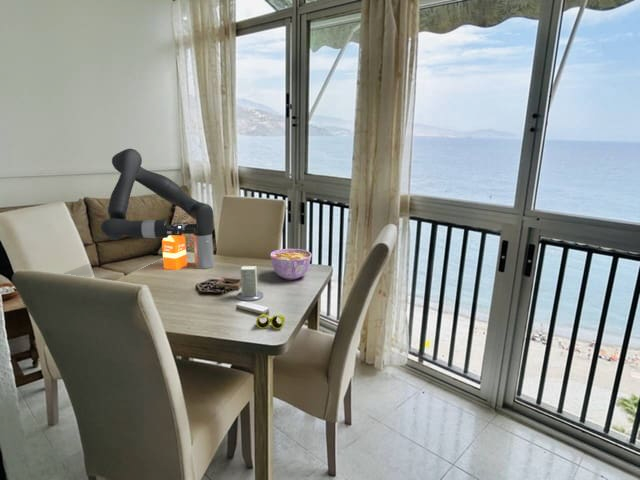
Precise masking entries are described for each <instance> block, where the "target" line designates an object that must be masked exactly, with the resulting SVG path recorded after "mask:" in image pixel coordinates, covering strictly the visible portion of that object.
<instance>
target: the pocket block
mask: <svg viewBox="0 0 640 480" xmlns="http://www.w3.org/2000/svg"><path fill="white" fill-rule="evenodd" d="M223 281H228V282H231V283H221V282H223ZM215 285H218V286H225V287H229V288H231V289H232V290H231V291H233V290H234V291H239V290H241V289H242V286H241V278H236V277H235V278H234V277H221V278H219V280H218V281H216V282H215V283H214V286H215Z"/></svg>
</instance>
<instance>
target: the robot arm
mask: <svg viewBox="0 0 640 480" xmlns="http://www.w3.org/2000/svg"><path fill="white" fill-rule="evenodd" d="M142 160H143V159H142V155H141V153H140V152H139V151H138V150H136V149H134V148H126V149H124V150H121V151H120V152H117V153H115V154H114V155H113V156H112V158H111V163H112V166H113V167H114V169H115V170H116V171H118V173H120V174H119V178H118V180H117V182H116V184H115V186H114V188H113V190H112V192H111V194H110V198H109V202H108V207H107V213H108V216H109V218H107V219H105V220H104V221H102V222H101V225H100V230H101V232H102V233H103V234H104V235H105V236H106V237H108V238H109V239H110V240H112V241H119V240H121V239H122V238H123V237H124V236H128V237H130V238H134V239H135V238H137V239H139V238H141V239H143V238H145V239H163V238H167V237H168V236H169V235H180V236H181V235H182V234H183V236H185V234H187V235H190V234H192V235H193V250H194V267H195V269H196V268H197V269H202V270H203V269H211V268H212V267H214V245H213V244H214V243H213V230H214V210H213V208H212V206H211V205H209V204H207V203H204V202H200V201H198V200H196V199H194V198H193V197H191V196H189V195H188V194H187V193H186V192H185V191H184V190H183V189H182V188H181V186H180V185H179V184H177V183H176V182H175V181H173V180H172V179H170V178H169V177H167V176H165V175H163V174H159V173H156V172H153V171H150V170H147V169H146V168H143V167H142ZM135 182H137V183H139V184H140V185H142V186H143V187H145V188H146V189H148V190H150V191H151V192H153V193H155V194H156V195H157V196H159V197H160V198H162V199H163V200H165V201H167V202H169V204H172V205H174V206H176V207H178V208H180V209H181V210H182V211H184V212H185V213H186V214H187V215H189V216H190V218H192V219H193V220H195V221H196V223H189V222H187V221H186V222H173V223H172V224H170V223H169V221H168V219H148V220H129V219H127V212H128V208H129V202H130V198H131V194H132V191H133V187H134V184H135Z"/></svg>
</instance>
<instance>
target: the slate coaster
mask: <svg viewBox="0 0 640 480" xmlns="http://www.w3.org/2000/svg"><path fill="white" fill-rule="evenodd" d="M263 297H264V293H263V292H262V291H260V290H258V293H257V296H242V291H240V292H238V293H237V294H236V299H238V300H239V301H242V302H256V301H259V300H261V299H263Z"/></svg>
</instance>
